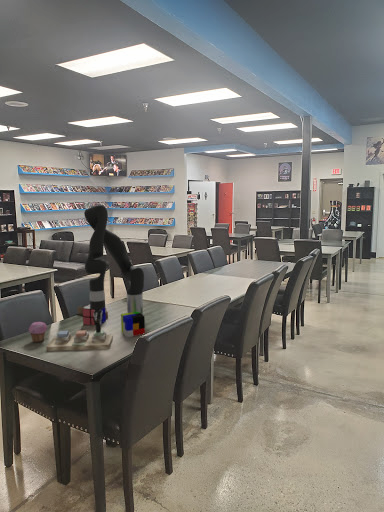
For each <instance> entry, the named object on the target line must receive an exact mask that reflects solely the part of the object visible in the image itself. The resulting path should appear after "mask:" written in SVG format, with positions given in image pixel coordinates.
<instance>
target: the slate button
mask: <svg viewBox="0 0 384 512" xmlns="http://www.w3.org/2000/svg"><path fill="white" fill-rule="evenodd" d="M69 333H70V332H69V330H59V332H58V333H57V335H58V337H67V336H68V335H69ZM57 335H56V336H57Z"/></svg>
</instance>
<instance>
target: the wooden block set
mask: <svg viewBox="0 0 384 512" xmlns="http://www.w3.org/2000/svg"><path fill="white" fill-rule="evenodd" d="M86 306H87V305H84V306H77V314H78V315H83V308H84V307H86ZM105 310H106V312H105V313H106V319H108V318H109V312H108V310H107V307H106V306H105Z"/></svg>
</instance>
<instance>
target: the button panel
mask: <svg viewBox="0 0 384 512" xmlns="http://www.w3.org/2000/svg"><path fill="white" fill-rule="evenodd" d="M86 332H87V334H86V336H81V337H76V333H75V335H72V333H71V332H69V335H68V336H67V337H58V335H56V336H53V337H52V339H51V340H50V341H49V343H48V344H47V345H46V351H47V352H51V351H77V350H81V351H82V350H109V349H110V348H111V345H112V342H113V340H114V335H113V334H107V331H104V336H94V333H95V331H94V332H93V333H92V335H91V334H90V333H89V332H88V331H86ZM89 334H90V335H89Z"/></svg>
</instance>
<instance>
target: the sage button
mask: <svg viewBox="0 0 384 512" xmlns="http://www.w3.org/2000/svg"><path fill="white" fill-rule="evenodd" d="M94 332H95V333H94ZM94 332H93V334H94V336H104V332H105V330H104V329H103V330H102V329H101V332H96V330H95V331H94Z"/></svg>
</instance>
